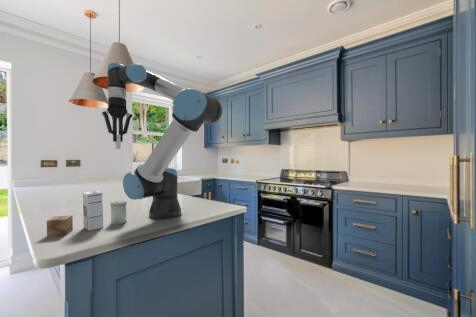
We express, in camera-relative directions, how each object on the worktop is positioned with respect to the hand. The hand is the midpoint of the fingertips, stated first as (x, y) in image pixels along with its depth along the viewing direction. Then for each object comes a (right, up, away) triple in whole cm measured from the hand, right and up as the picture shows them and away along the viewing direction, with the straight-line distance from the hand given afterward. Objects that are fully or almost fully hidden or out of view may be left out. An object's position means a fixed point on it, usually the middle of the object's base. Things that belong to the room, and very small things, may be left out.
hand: (118, 148), depth 108 cm
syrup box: (-3, -33, -14) cm, 36 cm away
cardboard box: (-11, -33, -21) cm, 40 cm away
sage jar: (+4, -33, -7) cm, 33 cm away
